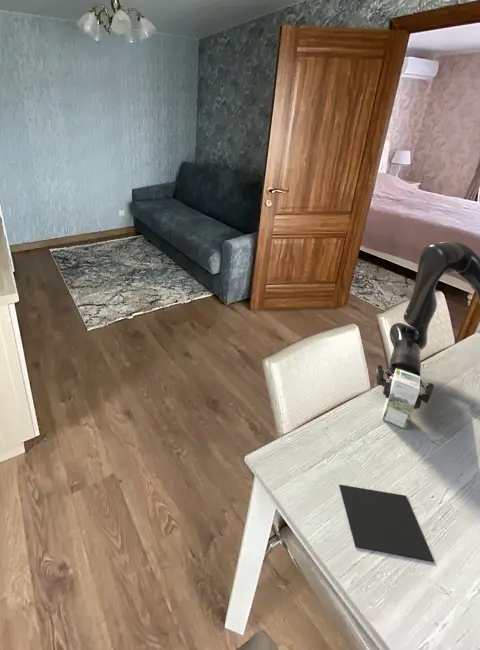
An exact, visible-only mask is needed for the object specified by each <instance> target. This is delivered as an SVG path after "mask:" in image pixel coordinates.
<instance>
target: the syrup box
mask: <svg viewBox="0 0 480 650" xmlns="http://www.w3.org/2000/svg"><path fill="white" fill-rule="evenodd" d="M420 379H421V375H420V376H417V375H415V374H412V373H409V372H406V371H403V370H400V369H397V368H396V370H395V373H394V376H393V379H392V383H391V389H390V394H389V398H386V397H385V400H384V404H383V409H382V417H381V419H382V420H383V421H384V422H387V423H389V424H391V425H394V426H397V427H399V428H401V429H404V430H406V429H407V427H408V424H409V422H410V419H411V417H412V416H411V415H412V413H413V411H414V409H413V408H414V405H415V403H416V400H417V398H418V395H419V392H420V391H421V387H420Z"/></svg>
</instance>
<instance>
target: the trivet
mask: <svg viewBox="0 0 480 650" xmlns="http://www.w3.org/2000/svg"><path fill="white" fill-rule="evenodd" d="M338 486H339V490H340V495H341V498H342V501H343V505H344V509H345V513H346V517H347V521H348V524H349V528H350V532H351V536H352V539H353V543H354V547H355V548H359V549H364V550H368V551H375V552H380V553H385V554H391V555H395V556H401V557H406V558H412V559H417V560H422V561H427V562H432V563H433V562H435V560H434V558H433V555H432V552H431V550H430V548H429V546H428V543H427V541H426V539H425V537H424V534H423V532H422V530H421V527H420V524H419V522H418V519H417V517H416V515H415V513H414V511H413V509H412V506H411V503H410V501H409V498H408V497H407V495H405V494H400V493H399V494H398V493H392V492H386V491H381V490H376V489H369V488H364V487H363V488H362V487H357V486H352V485H346V484H339V485H338Z"/></svg>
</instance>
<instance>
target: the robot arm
mask: <svg viewBox="0 0 480 650" xmlns="http://www.w3.org/2000/svg"><path fill="white" fill-rule="evenodd" d="M449 274H456V275H458V276H459V277H460V278H462V279H463V280H465V282H466V283H468V284H469V285H470V286H471V287H472V288H473V290H474V291H475V294H476V296H477V299H478V302H479V303H480V256H479V255H478V254H477V253H476V252H475V251H474V250H473V249H472V248H471V247H470V246H468V245H467V244H465V243H463V242H461V241H458V240H457V241H455V240H451V241H442V242H435V243H430V244H427V245H426V246H425V247H424V248H423V250H422V251H421V255H420V258H419V261H418V265H417V272H416V277H415V282H414V287H413V292H412V295H411V297H410V300H409V302H408V305H407V307H406V309H405V312H404V314H403V321H404V322H405V323H403V322H396V323H394V324H392V325H391V327H390V329H389V340H390V342H391V345H392V347H393V349H392V353H391V356H390V358H389V359H390V360H389V361H390V362H389V368H383V366H382V365H381V364H378V365H377V367H376V370H375V378H376V384H377V385H378V386H382V387H383V391H382V394H383V395H384V398H385V399H386V398H389V394H390V389H391V383H392V379H393V376H394V373H395V370H396V368H397V369H400V370H403V371H406V372H409V373H412V374H415V375H417V376H420V377H421V369H422V367H421V366H422V361H421V351H422V350H424V349H425V348H426V347H427V345H428V331H429V330H428V329H429V325H430V324H431V321H432V319H433V317H434V316H435V313H436V311H437V306H438V301H437V296H436V287H437V284H438V282H439V281H440V279H441V278H442V276H443V275H449ZM385 375H386V376H387V377H388V378H385ZM420 388H422V390H423V392H422V391H421V390H420V392H419V395H418V398H417V400H416V403H415V405H414V408H413V410H417V409H420V408H421V406H422V402H423V403H425V404H428V403H429V401H430V398H431V396H432V392H433V391H434V388H435V385H434V383H432V382H429V383H428V384H427V383H425V382H424V381H423V380H422V379H421V378H420Z"/></svg>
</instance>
